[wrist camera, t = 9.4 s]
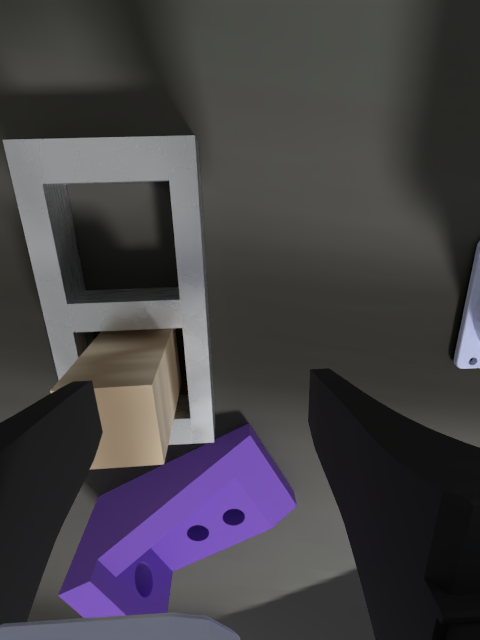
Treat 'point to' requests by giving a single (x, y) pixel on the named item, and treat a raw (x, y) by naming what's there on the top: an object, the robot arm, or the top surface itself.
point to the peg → (131, 393)
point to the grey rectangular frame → (118, 304)
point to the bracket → (173, 524)
